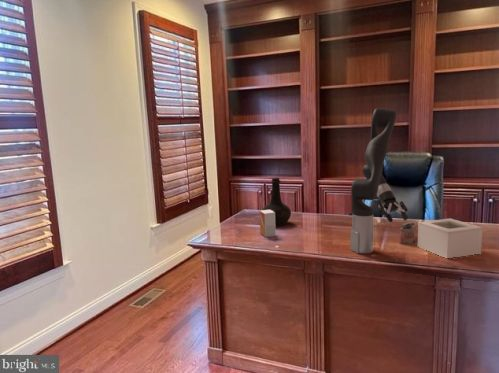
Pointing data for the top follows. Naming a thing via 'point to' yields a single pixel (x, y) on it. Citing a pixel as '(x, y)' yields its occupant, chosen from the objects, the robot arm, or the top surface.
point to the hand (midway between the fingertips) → (398, 220)
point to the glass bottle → (278, 204)
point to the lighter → (407, 234)
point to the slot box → (450, 238)
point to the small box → (267, 223)
